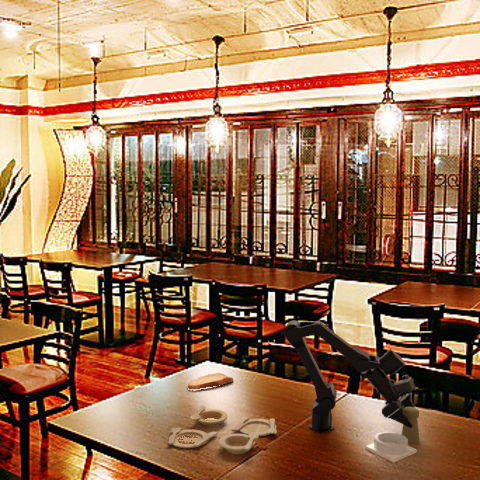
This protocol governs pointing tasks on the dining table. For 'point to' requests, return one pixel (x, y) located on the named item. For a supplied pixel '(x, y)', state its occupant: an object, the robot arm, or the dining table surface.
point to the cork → (413, 432)
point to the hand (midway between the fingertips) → (415, 421)
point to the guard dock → (389, 457)
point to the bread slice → (210, 381)
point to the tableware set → (229, 442)
